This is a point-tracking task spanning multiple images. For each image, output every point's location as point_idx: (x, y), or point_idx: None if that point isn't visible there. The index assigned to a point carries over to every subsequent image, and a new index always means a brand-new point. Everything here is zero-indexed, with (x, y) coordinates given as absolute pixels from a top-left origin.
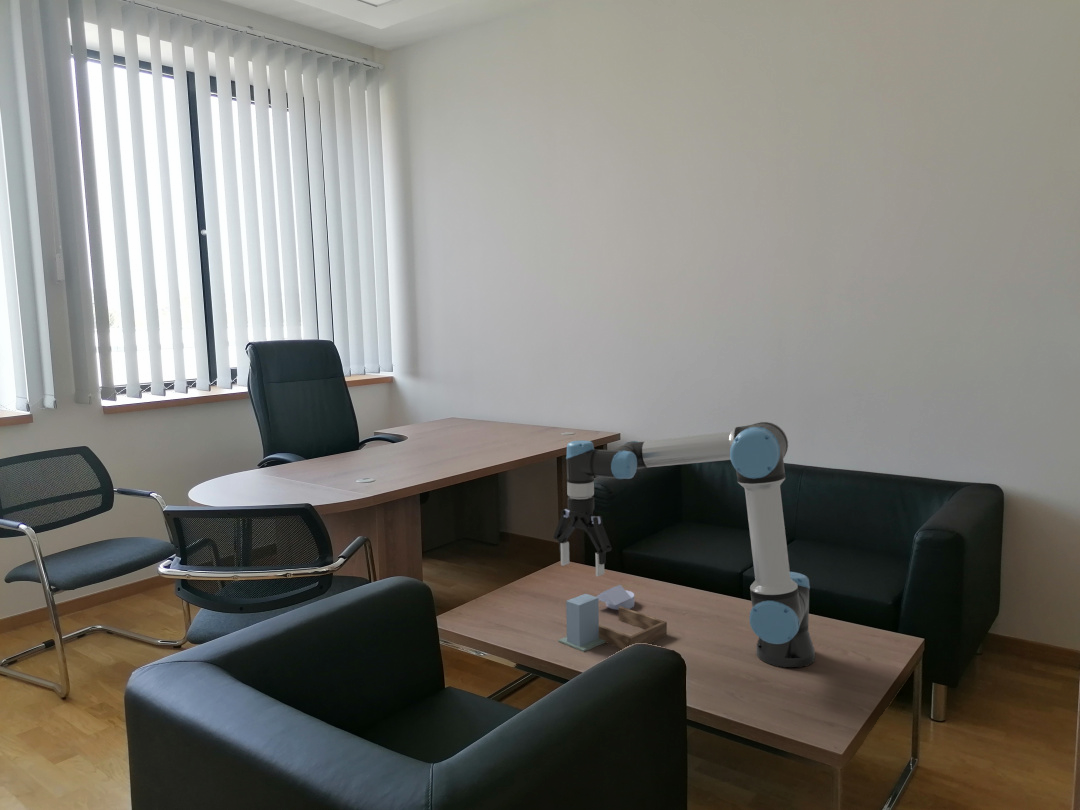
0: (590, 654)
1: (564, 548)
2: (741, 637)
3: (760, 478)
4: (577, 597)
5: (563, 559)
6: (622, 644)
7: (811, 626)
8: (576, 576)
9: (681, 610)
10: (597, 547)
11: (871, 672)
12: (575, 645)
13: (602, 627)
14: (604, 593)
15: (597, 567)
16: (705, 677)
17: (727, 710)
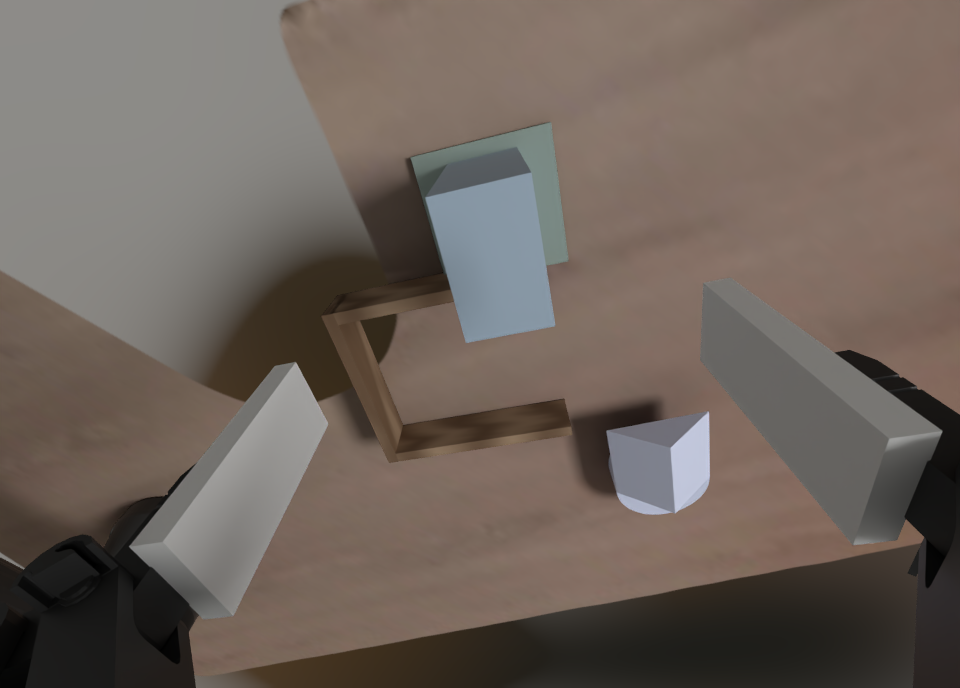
0: (381, 167)
1: (813, 415)
2: (307, 534)
3: None
4: (535, 260)
5: (734, 321)
6: (367, 294)
7: (302, 628)
8: None
9: (509, 534)
10: (69, 642)
11: None
12: (464, 155)
13: None
14: (662, 444)
15: (238, 414)
16: (114, 359)
17: None
